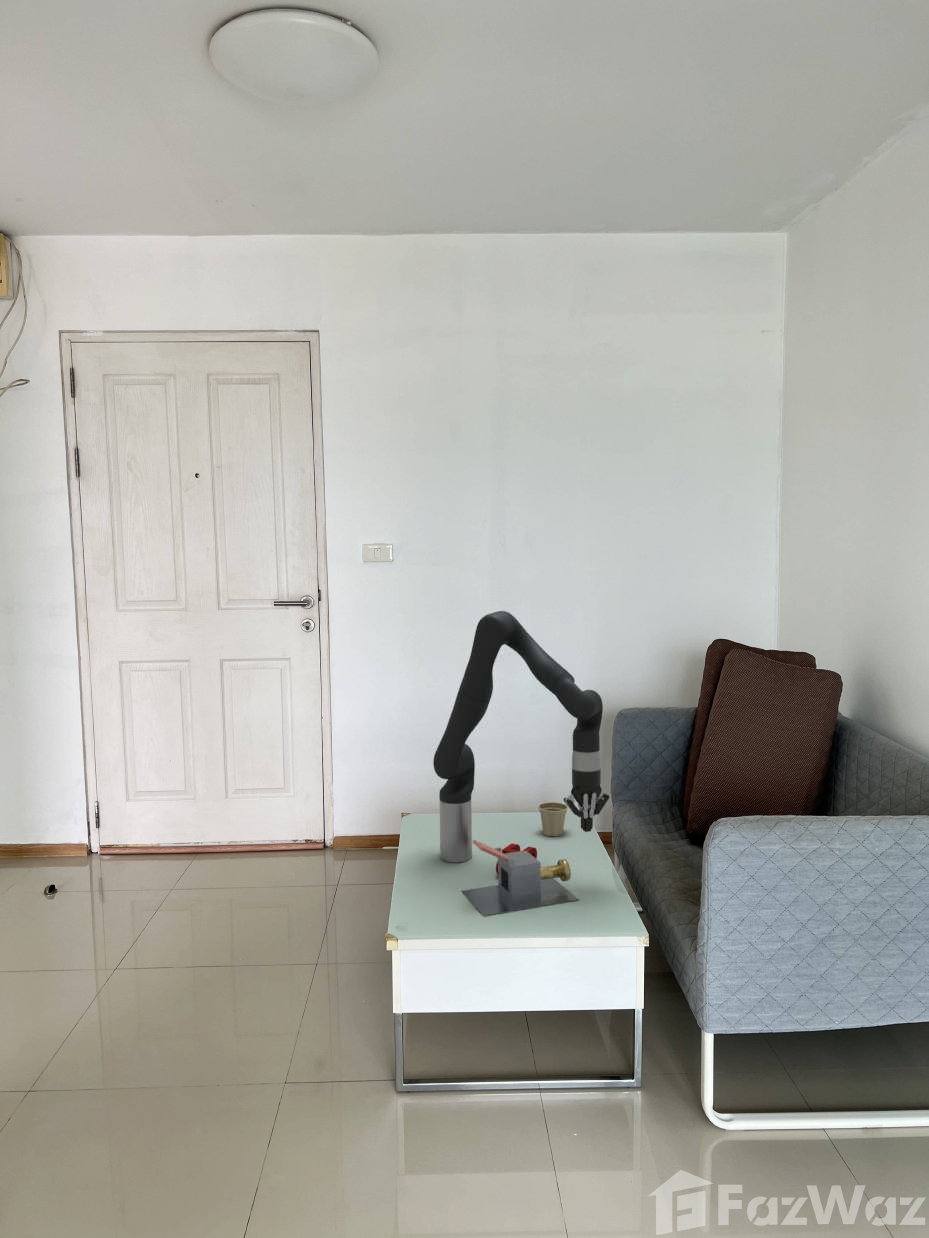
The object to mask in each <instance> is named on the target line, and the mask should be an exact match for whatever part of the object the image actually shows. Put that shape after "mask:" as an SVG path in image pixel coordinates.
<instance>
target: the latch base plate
mask: <svg viewBox="0 0 929 1238" xmlns="http://www.w3.org/2000/svg"><path fill="white" fill-rule="evenodd" d="M494 849H496V850H498V851H501V852H502V847H495V848H494ZM505 855H506V856H507V857H508V858H509V859H508V862H506V861H504V860H501V859H499V858H497V861H498V875H497V876H498V877H497V879H498V880H497V885H496V884H495V885H490V886H483V887H476V888H470V889H465V890H461V893H462V894H463V895H464V897H466V898H467V900H468V901H469V903H471V904H472V906H473V907H474V908H475V909H476V910H477V911H478V912H479V913H480V914H481V915H482V916H483V917H487V916H489V917H490V916H494V915H500V914H506V913H512V912H517V911H518V912H519V911H523V910H524V911H525V910H528V909H529V910H530V909H536V908H541V907H547V906H553V905H560V904H564V903H571V902H576V901H580V899H579V898H578V897H577V896H575V894H573V893H572V892H570V890H568V889H567V888H566V887H564V885H562V884H561V883H560V882H558V881H557V880H556V878H553V879H546V880H541V867H542V866H541V861H539V860H538V858H537V859H536V858H535V857H533V856H532V855H531V854H530V853H528V852H527V851H523V850H520V852H513V853H506V854H505Z"/></svg>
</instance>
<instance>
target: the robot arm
mask: <svg viewBox="0 0 929 1238" xmlns="http://www.w3.org/2000/svg"><path fill="white" fill-rule="evenodd" d="M504 645H505V646H507V647H508V648H510V649H512V650H513V651H514V652H516V653H517V654H518V655H519V656H520V657H521V659H523V661H524V662H525V664H526V665H527V667H528V669H529V670H530V672H531V674H532V675H533V677H534V678H535V679H536V680H537V681H538V682H539V683H540V684H541V685H543V687H544V688H546V689H547V690H548V691H549V692H550V693H551V694H553V695H554V696H555V697H556V698H557V700H558V702H559V703H560V704H561V706H563V708H564V710H565V711H567V712H568V714H570V716H572V717H573V718H575V719H577V720H576V725H575V728H574V729H573V731H572V753H571V754H572V755H571V785H572V788H571V791H570V794H569V795H568V796H567V797H564V798H563V799H562V800H563V802H564V804H565V805H567V806H568V809H569V810H570V811H571V812H572V813H573V815H575V816H577V817H578V818H580V828H581V829H582V831H583V832H585V833H588V832H591V831H592V830H593V827H594V823H593V822H594V821H593V820H594V819H593V818H594V817H595V816H597V815H600V813H601V811H602V810H603V808H604V807H605V805H606V804H607V802H608V801H609V799H610V795H609V794H608V793H605V792H604V791H603V788H602V786H601V783H602V780H601V779H602V777H601V776H602V774H601V773H602V769H601V768H602V767H601V766H602V761H601V751H600V749H601V748H600V746H601V744H600V730H601V727H602V726H601V725H602V719H603V710H604V709H603V708H604V707H603V704H604V703H603V700H602V697H601V695H600V694H599V692H598V691H595V690H593V689H585V690H581V689H580V688H579V686H578V685H577V684H576V683H575V677H574V676H573V675H572V674H571V672H569V671H568V670H567V669H566V668H564V667H563V665H561V664H560V663H559V662H557V661H556V660H555V659H554V658H553V657H552V656H550V655H549V654H548V653H547V652H546V651H545V650H544V649H543V648H542V647H541V646H540V645H539V644H538V642H536V640H535V639H534V638H533V637H532V636H531V634H529V632H528V631H527V630H526V629H525V628H524V626H523V625H522V624H521V623H520V622H519V620H518V619H517V618H516V617H515V616H514V615H513V614H512V613H510V612H509V611H506V610H498V611H494V612H492V613H486V614H485V615H483V616H482V617H481V618H480V619H479V621H478V623H477V625H476V628H475V632H474V637H473V642H472V648H471V652H470V655H469V659H468V661H467V665H466V668H465V670H464V674H463V677H462V680H461V683H460V685H459V688H458V691H457V695H456V698H455V701H454V705H453V707H452V710H451V714H450V715H449V719H448V722H447V725H446V728H445V730H444V733H443V734H442V737H441V739H440V741H439V744H438V746H437V747H436V750H435V753H434V756H433V762H432V763H433V770H434V772H435V774H436V776H437V777H438V778H440V779H443V780H446V782H445V783H444V785H443V786H442V787H441V788H440V789H439V794H438V795H439V796H438V797H439V842H440V843H439V848H440V849H439V851H440V852H439V853H440V855H439V857H440V859H441V860H442V861H445V862H448V863H463V862H467V861H470V860H471V859H472V857H473V837H472V836H473V831H472V830H473V828H472V824H473V823H472V822H473V821H472V812H473V811H472V793H473V791H474V789H475V772H476V771H475V770H476V768H475V767H476V766H475V765H476V761H475V755H474V751H473V750H472V748H471V747H470V746H469V745H468V744H467V743H466V742H467V740H468V738H469V737H470V735H471V734H472V733H473V731H474V730H475V728H476V727H477V726H478V725H479V724H480V722H481V721H482V719H483V717H484V716H485V715H486V712H487V710H488V707H489V704H490V702H491V698H492V695H493V692H494V678H493V677H494V676H493V675H494V674H493V672H494V671H493V669H494V666H495V662H496V660H497V657H498V654H499V652H500V650H501V648H502V647H503V646H504ZM575 802H576V803H577V806H576V805H575Z"/></svg>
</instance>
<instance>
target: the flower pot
mask: <svg viewBox="0 0 929 1238" xmlns="http://www.w3.org/2000/svg"><path fill="white" fill-rule="evenodd" d="M537 808H538V810H539V814H540V819H541V828H542V834H544V835H545V836H548V837H550V836H553V837H560V836H562V835H563V834H564V829H565V828H564V827H565V819H566V815H567V811H568V809H569V807H568V806H567V805H566V803H562V802H557V801H555V802H554V801H549V802H548V801H547V802H542V803H540V804H538V805H537Z"/></svg>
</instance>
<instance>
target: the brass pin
mask: <svg viewBox="0 0 929 1238" xmlns="http://www.w3.org/2000/svg"><path fill="white" fill-rule="evenodd" d="M571 871H572V870H571V866H570V864H569V862H568V860H567V859H566V858H562V859H558V860H557V864H553V865H548V866H541V880H546V879H553V878H554V879H558V878H559V880H560V881H561V882H569V881H570V879H571V875H572V872H571Z"/></svg>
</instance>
